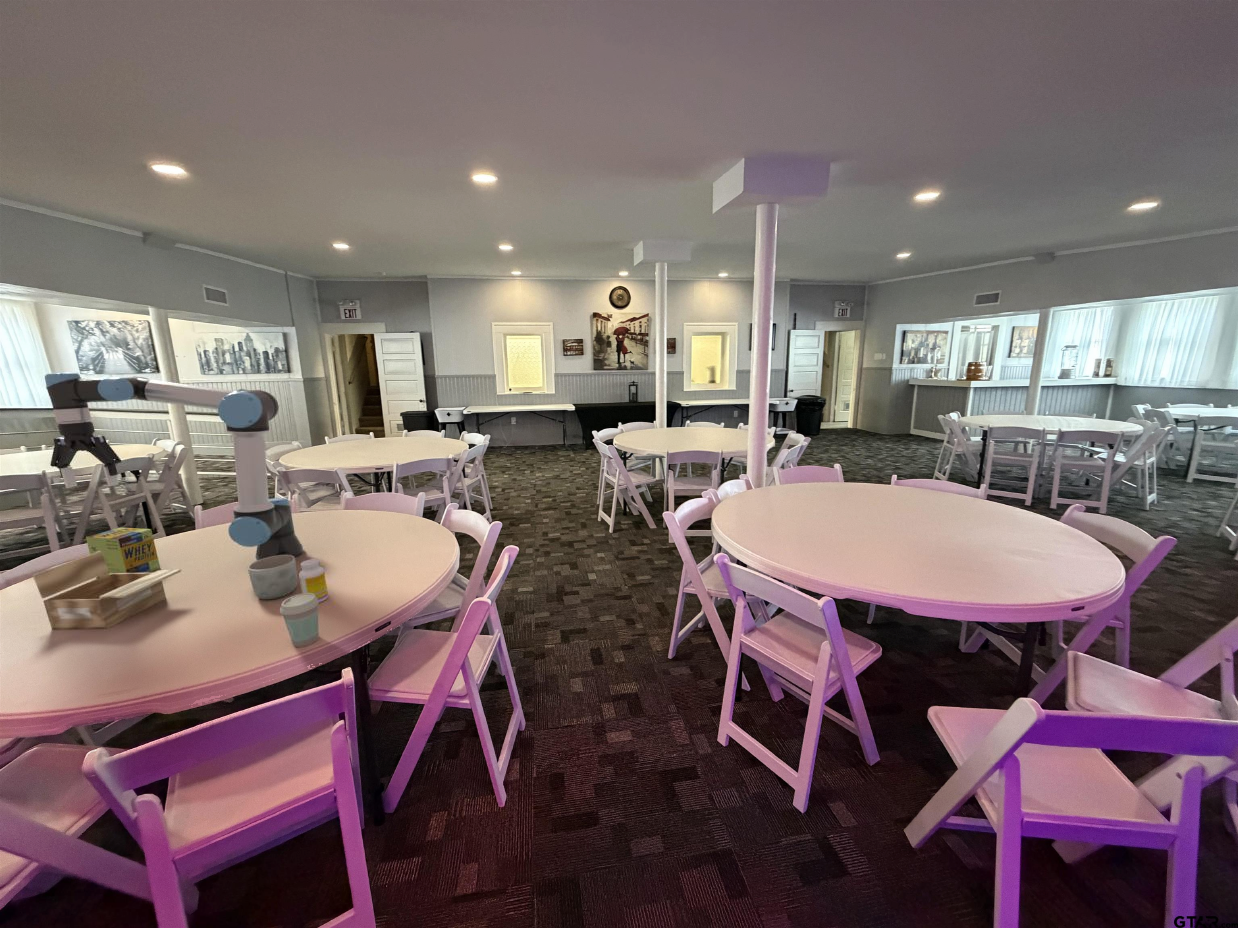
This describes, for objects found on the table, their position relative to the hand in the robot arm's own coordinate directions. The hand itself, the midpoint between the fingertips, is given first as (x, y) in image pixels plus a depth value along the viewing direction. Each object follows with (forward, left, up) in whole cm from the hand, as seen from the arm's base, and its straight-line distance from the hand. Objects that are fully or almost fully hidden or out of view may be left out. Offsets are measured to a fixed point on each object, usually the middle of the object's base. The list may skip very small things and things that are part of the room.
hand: (92, 486), depth 156 cm
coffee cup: (-89, +36, -36) cm, 103 cm away
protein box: (+8, -11, -36) cm, 38 cm away
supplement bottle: (-77, +13, -36) cm, 86 cm away
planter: (-61, +8, -36) cm, 71 cm away
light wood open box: (-22, +19, -35) cm, 46 cm away
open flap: (-10, +19, -22) cm, 31 cm away
